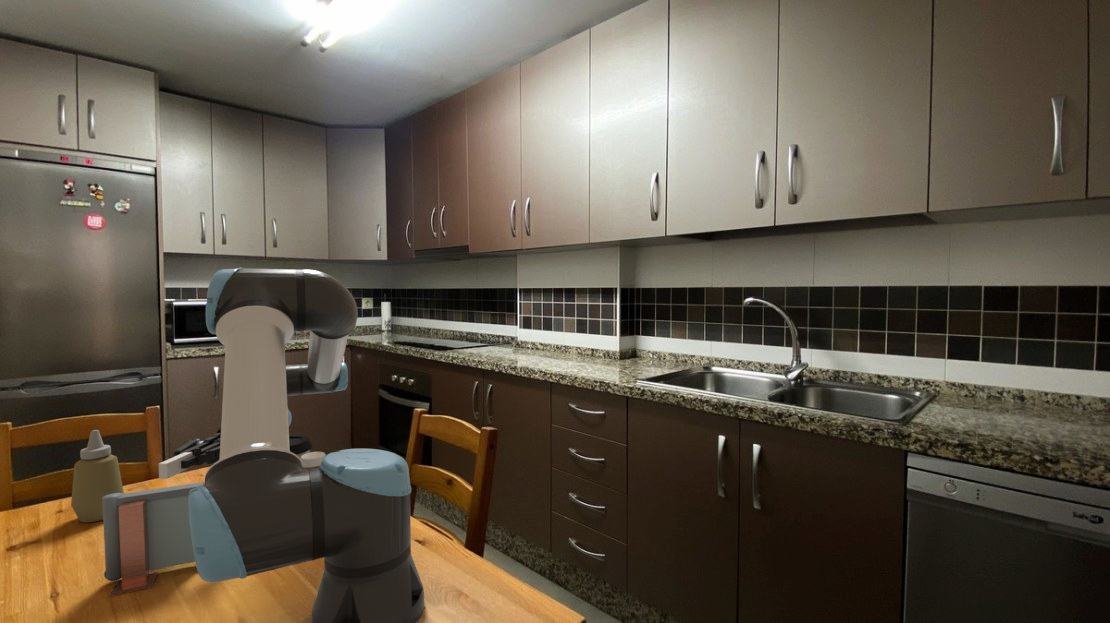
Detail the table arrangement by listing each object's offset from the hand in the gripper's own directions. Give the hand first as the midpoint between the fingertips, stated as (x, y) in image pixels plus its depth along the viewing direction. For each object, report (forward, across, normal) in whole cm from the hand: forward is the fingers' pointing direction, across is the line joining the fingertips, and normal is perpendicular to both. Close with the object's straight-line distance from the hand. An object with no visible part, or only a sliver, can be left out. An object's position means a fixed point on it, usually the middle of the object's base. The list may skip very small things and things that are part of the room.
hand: (163, 471), depth 90 cm
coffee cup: (-17, -13, -15) cm, 26 cm away
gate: (+6, -4, -14) cm, 16 cm away
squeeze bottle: (-15, +25, -14) cm, 32 cm away
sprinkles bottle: (-12, -20, -15) cm, 28 cm away
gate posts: (+6, -7, -15) cm, 18 cm away
